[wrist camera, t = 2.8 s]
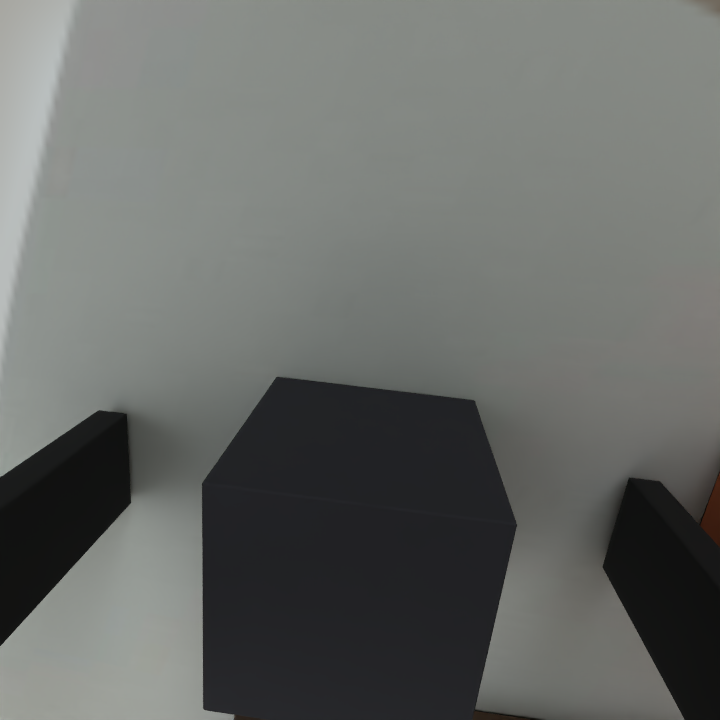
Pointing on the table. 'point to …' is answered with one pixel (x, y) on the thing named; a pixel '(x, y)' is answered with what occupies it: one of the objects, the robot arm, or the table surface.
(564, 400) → the table surface
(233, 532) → the charcoal block
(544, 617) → the table surface
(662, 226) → the table surface
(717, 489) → the terracotta cube
